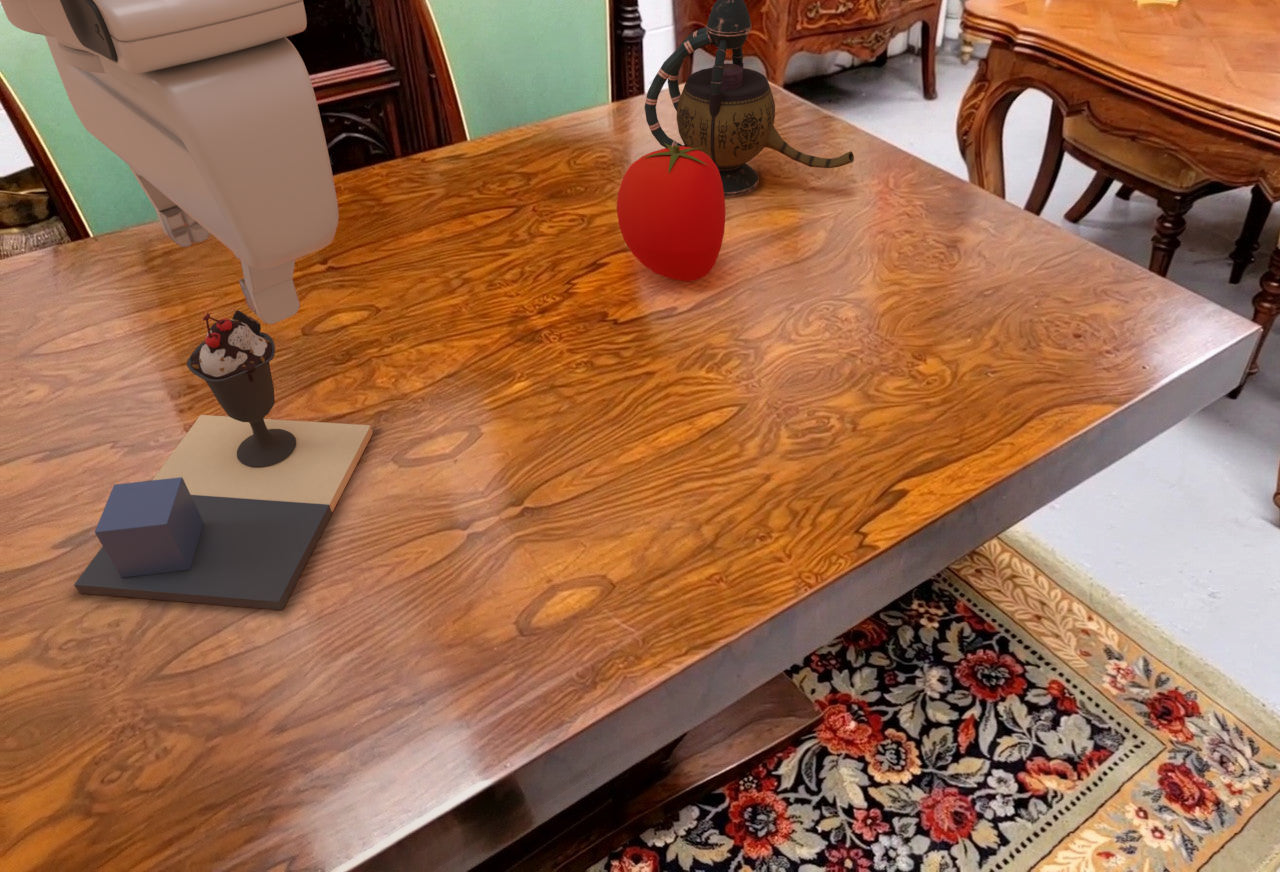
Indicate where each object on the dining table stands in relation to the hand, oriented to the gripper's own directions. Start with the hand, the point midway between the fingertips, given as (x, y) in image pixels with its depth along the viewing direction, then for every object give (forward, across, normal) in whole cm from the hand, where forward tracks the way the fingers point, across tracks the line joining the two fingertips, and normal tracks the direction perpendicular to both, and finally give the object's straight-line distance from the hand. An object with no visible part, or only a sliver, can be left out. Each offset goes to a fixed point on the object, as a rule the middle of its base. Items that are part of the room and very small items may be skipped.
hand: (230, 274), depth 44 cm
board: (+31, -21, 0) cm, 38 cm away
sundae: (+30, -25, +5) cm, 40 cm away
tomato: (+31, -23, +52) cm, 64 cm away
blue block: (+30, -20, -6) cm, 36 cm away
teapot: (+31, -31, +73) cm, 86 cm away
